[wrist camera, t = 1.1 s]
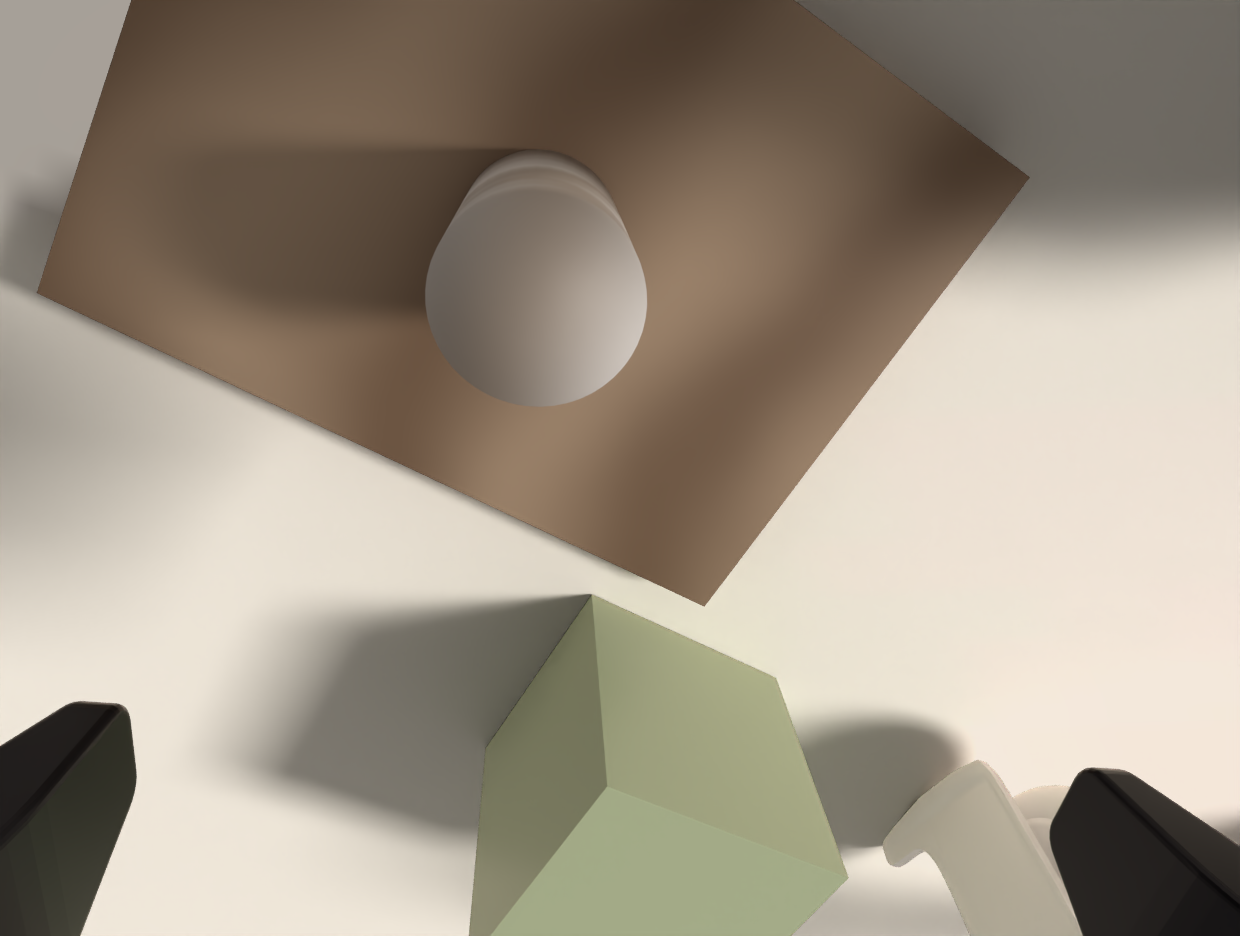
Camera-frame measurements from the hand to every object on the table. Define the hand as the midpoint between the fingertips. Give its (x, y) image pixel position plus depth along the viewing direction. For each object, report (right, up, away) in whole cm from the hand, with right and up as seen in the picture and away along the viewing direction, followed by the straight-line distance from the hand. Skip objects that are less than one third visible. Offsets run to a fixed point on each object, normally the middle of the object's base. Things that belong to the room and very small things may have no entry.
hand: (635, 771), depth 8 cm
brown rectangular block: (-2, +8, +10) cm, 13 cm away
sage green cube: (0, -4, +17) cm, 17 cm away
